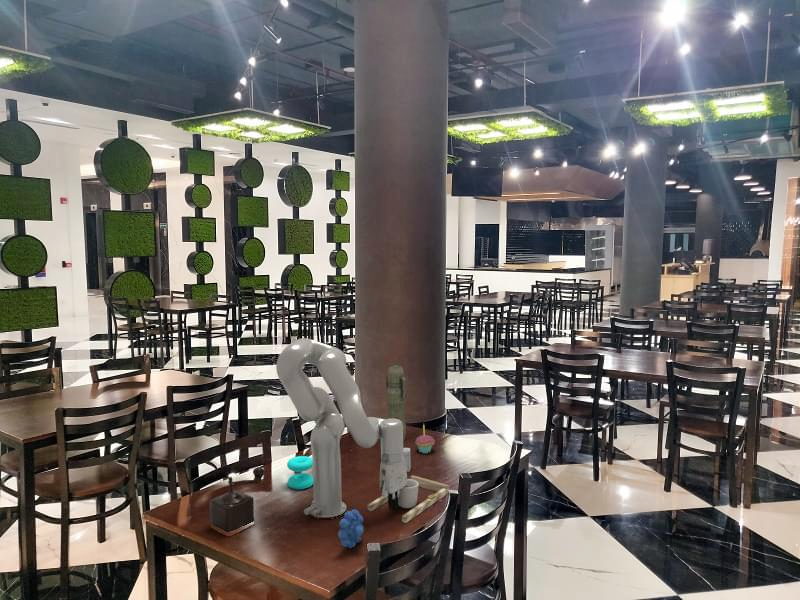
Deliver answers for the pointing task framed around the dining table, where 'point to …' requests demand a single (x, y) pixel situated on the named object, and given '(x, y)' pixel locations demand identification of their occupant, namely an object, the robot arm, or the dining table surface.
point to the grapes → (351, 528)
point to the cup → (408, 494)
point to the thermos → (396, 394)
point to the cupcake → (424, 442)
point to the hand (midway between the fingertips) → (393, 508)
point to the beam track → (428, 484)
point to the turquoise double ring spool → (301, 478)
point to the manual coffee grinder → (234, 506)
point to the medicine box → (407, 458)
